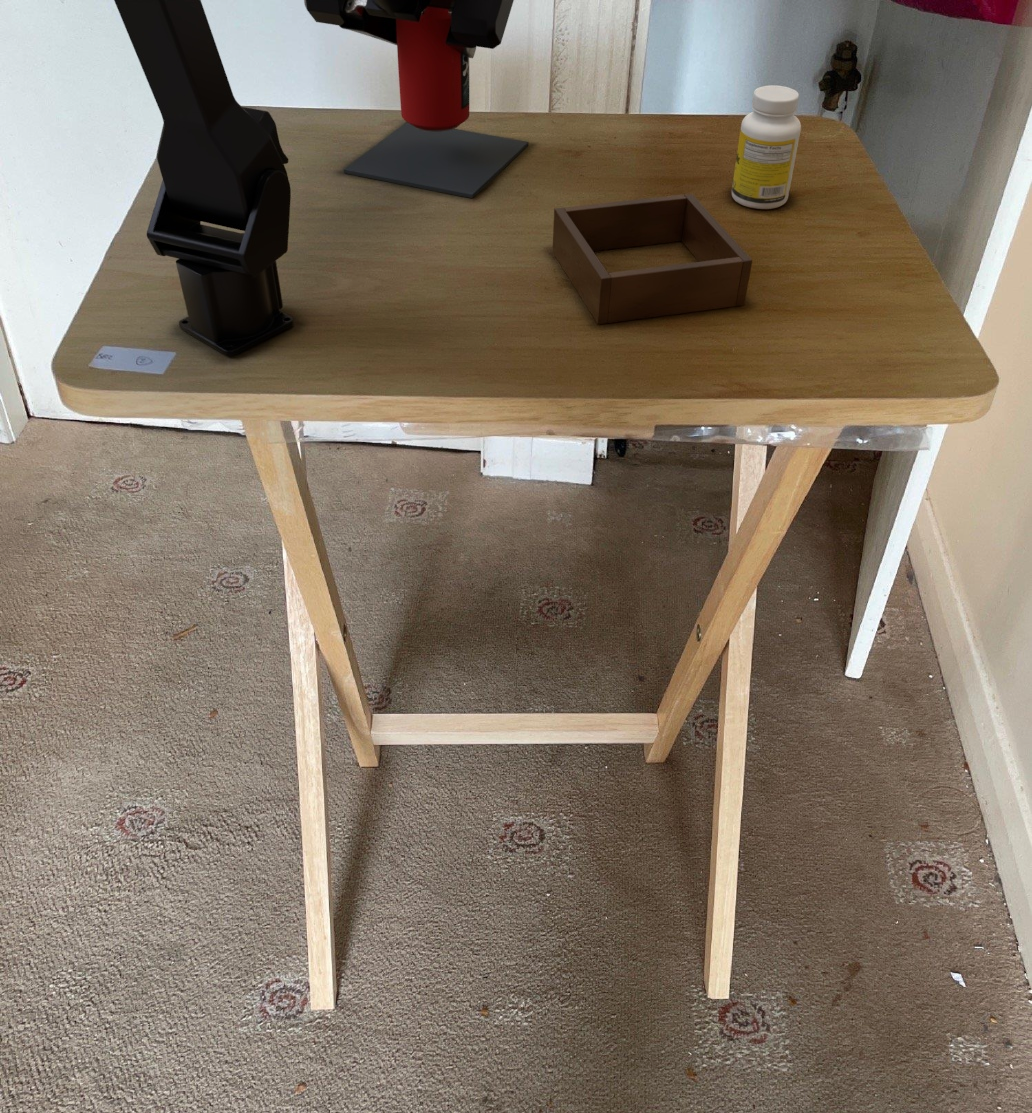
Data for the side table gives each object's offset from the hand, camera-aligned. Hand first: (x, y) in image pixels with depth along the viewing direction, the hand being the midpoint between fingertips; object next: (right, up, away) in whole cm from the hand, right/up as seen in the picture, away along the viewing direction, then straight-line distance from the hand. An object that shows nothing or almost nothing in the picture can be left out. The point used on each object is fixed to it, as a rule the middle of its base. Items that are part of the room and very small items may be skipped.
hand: (439, 47), depth 99 cm
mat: (-1, -8, +6) cm, 10 cm away
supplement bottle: (+30, -14, +1) cm, 34 cm away
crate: (+18, -25, -11) cm, 33 cm away
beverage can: (-1, -6, +4) cm, 7 cm away
